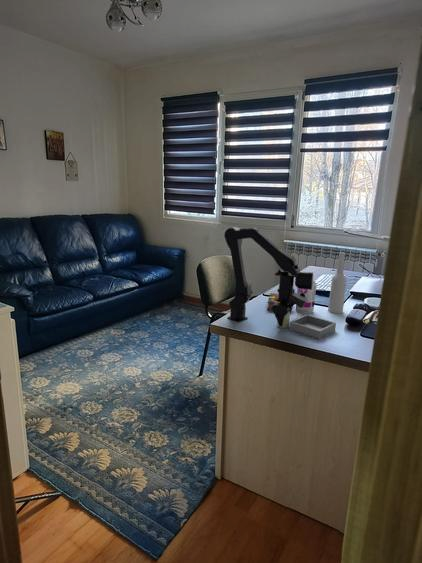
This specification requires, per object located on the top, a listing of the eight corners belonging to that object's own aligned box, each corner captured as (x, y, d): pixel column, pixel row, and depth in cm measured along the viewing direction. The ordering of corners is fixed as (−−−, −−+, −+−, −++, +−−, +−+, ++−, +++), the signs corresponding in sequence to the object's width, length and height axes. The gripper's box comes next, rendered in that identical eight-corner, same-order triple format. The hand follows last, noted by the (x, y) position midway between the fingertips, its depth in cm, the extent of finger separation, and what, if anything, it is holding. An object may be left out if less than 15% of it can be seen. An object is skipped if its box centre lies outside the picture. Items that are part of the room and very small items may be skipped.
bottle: (345, 312, 168) (353, 253, 161) (336, 314, 165) (343, 254, 158) (334, 308, 174) (341, 251, 167) (325, 310, 170) (331, 252, 163)
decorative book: (292, 303, 180) (293, 294, 179) (291, 314, 165) (292, 303, 163) (269, 301, 182) (270, 292, 181) (266, 311, 167) (267, 301, 166)
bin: (319, 339, 136) (320, 331, 135) (289, 329, 145) (289, 321, 144) (335, 331, 145) (336, 322, 144) (306, 322, 154) (306, 314, 153)
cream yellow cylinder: (284, 328, 146) (285, 314, 144) (274, 325, 149) (275, 311, 148) (291, 325, 149) (292, 312, 148) (281, 322, 152) (282, 309, 151)
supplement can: (303, 314, 163) (306, 283, 159) (291, 309, 170) (294, 278, 166) (317, 312, 167) (320, 281, 163) (305, 307, 174) (307, 277, 170)
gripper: (301, 295, 133) (298, 334, 137) (310, 284, 150) (306, 319, 154) (272, 291, 138) (269, 328, 142) (284, 280, 154) (281, 315, 158)
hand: (283, 322), depth 149 cm, fingers open, 8 cm apart
